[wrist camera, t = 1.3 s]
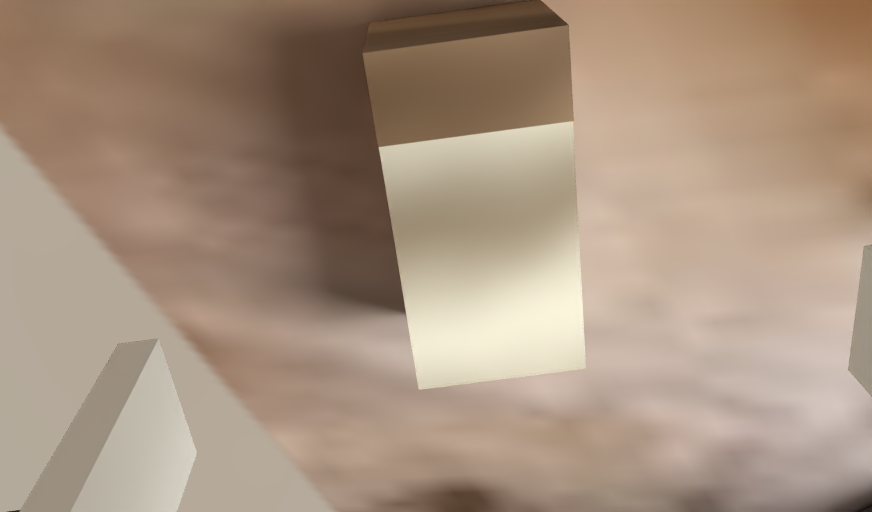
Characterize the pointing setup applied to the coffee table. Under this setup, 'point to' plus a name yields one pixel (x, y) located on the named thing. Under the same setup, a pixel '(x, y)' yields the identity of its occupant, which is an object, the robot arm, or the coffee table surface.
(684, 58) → the coffee table surface
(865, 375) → the robot arm
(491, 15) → the cream block
